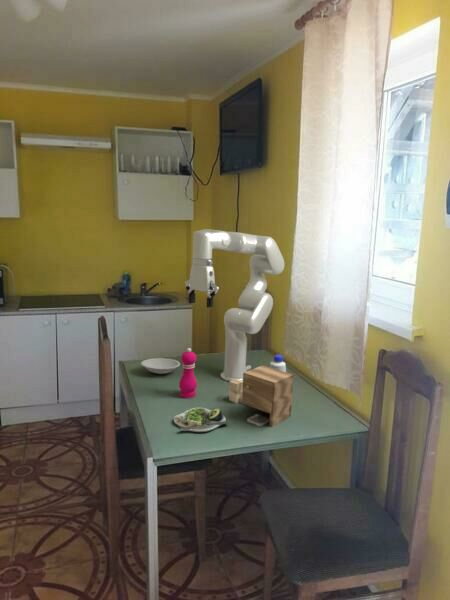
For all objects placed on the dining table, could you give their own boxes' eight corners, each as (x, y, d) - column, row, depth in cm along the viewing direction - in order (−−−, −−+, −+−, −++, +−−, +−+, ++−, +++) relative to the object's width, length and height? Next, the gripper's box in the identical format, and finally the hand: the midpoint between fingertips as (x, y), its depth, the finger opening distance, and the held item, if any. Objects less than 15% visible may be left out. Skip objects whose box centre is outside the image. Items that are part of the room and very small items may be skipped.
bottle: (285, 401, 201) (288, 353, 197) (281, 407, 194) (285, 358, 190) (269, 398, 203) (272, 351, 199) (265, 405, 197) (268, 356, 193)
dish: (181, 369, 234) (181, 359, 233) (177, 380, 219) (178, 369, 218) (144, 367, 234) (144, 357, 233) (137, 378, 220) (137, 367, 219)
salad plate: (197, 442, 165) (197, 429, 164) (160, 425, 177) (161, 413, 176) (234, 424, 180) (235, 412, 179) (198, 409, 191) (199, 397, 190)
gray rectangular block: (256, 417, 186) (257, 413, 186) (270, 422, 182) (270, 418, 182) (246, 422, 182) (247, 418, 181) (260, 427, 178) (260, 424, 178)
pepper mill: (194, 399, 199) (195, 351, 195) (176, 397, 200) (177, 349, 196) (198, 393, 206) (200, 346, 202) (181, 391, 207) (182, 344, 203)
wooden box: (260, 405, 196) (262, 365, 193) (290, 416, 187) (293, 374, 184) (239, 415, 186) (241, 373, 183) (269, 427, 177) (272, 383, 174)
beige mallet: (235, 397, 203) (235, 378, 201) (282, 414, 188) (284, 394, 187) (228, 400, 200) (229, 381, 198) (276, 418, 185) (278, 397, 184)
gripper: (225, 264, 194) (223, 307, 198) (192, 259, 205) (191, 300, 209) (212, 265, 189) (210, 310, 192) (179, 260, 200) (178, 302, 203)
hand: (200, 305), depth 200 cm, fingers open, 9 cm apart
